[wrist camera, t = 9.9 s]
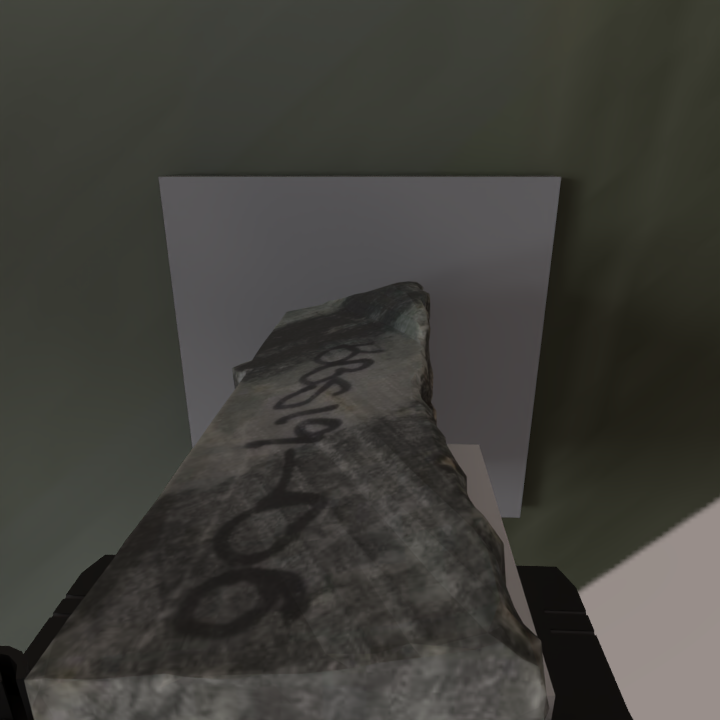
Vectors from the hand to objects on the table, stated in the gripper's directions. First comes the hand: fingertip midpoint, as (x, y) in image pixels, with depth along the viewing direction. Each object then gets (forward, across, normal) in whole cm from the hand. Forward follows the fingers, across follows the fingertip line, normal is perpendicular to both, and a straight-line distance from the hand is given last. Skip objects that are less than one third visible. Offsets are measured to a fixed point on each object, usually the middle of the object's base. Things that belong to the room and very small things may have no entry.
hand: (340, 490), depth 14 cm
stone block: (+6, +2, 0) cm, 7 cm away
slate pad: (+9, 0, 0) cm, 9 cm away
